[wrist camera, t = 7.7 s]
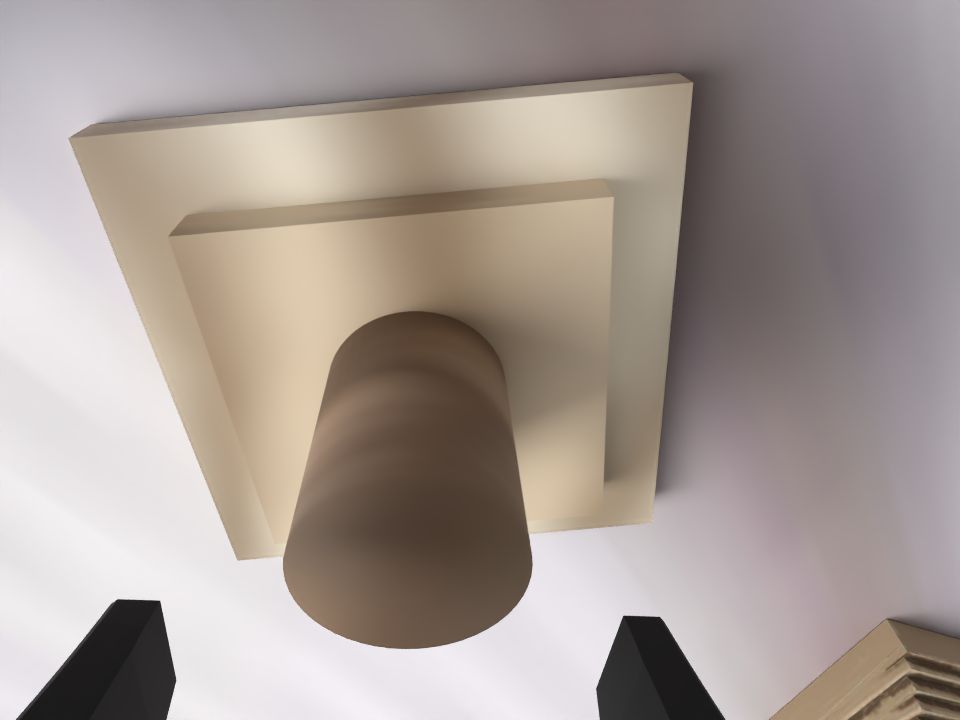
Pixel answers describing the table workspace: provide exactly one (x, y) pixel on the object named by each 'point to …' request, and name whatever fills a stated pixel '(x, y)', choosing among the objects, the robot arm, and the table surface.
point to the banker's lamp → (886, 680)
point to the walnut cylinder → (411, 490)
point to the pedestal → (409, 273)
